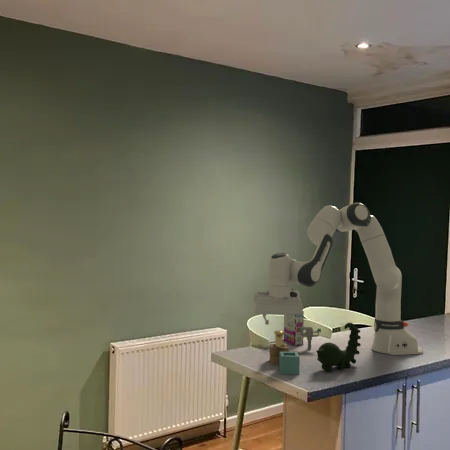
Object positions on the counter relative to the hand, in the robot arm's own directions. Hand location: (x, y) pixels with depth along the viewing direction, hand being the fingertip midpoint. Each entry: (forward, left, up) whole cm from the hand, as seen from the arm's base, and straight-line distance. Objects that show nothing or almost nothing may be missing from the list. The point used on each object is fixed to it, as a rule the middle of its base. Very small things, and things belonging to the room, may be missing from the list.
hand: (278, 324), depth 226 cm
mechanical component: (-16, -22, -16) cm, 32 cm away
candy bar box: (-10, -34, -16) cm, 39 cm away
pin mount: (0, 0, -16) cm, 16 cm away
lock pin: (0, 0, -16) cm, 16 cm away
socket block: (-3, +13, -16) cm, 21 cm away
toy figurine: (-24, +8, -16) cm, 30 cm away
